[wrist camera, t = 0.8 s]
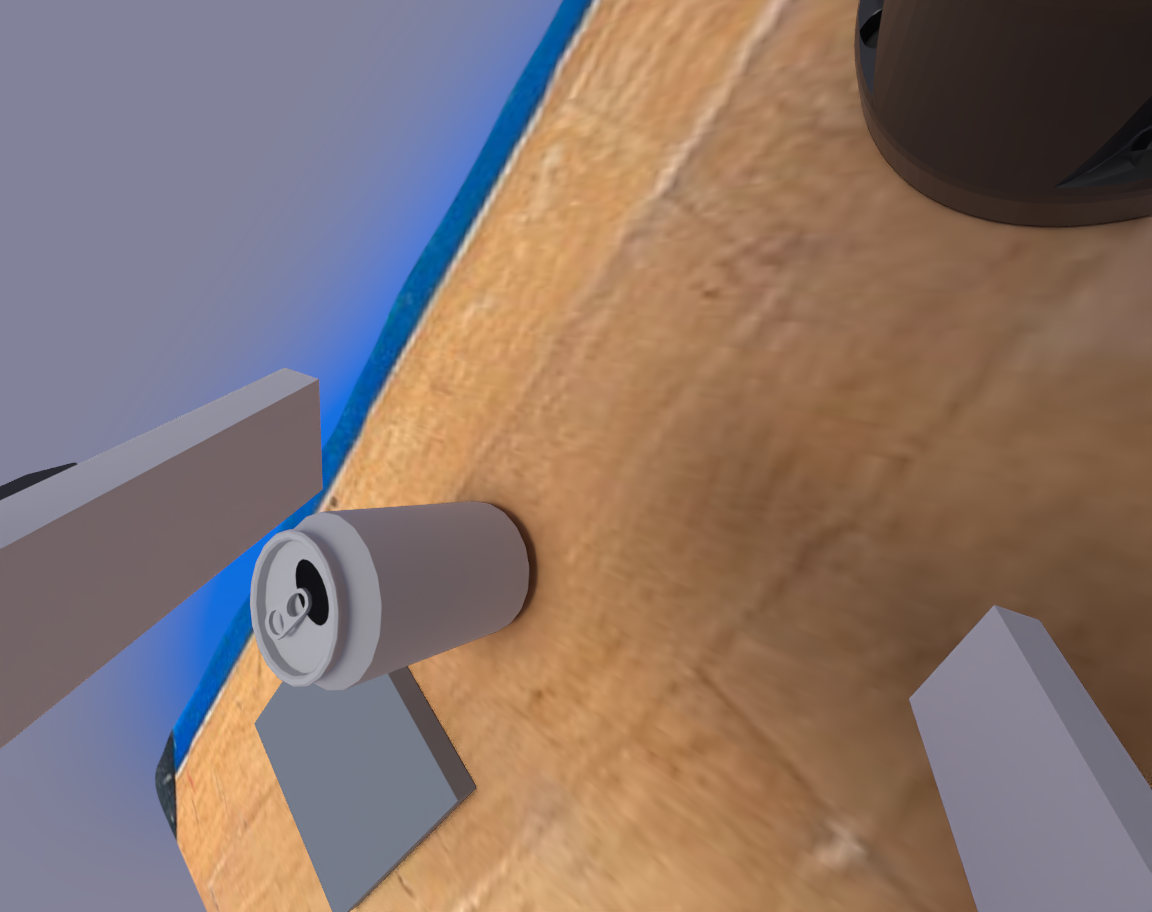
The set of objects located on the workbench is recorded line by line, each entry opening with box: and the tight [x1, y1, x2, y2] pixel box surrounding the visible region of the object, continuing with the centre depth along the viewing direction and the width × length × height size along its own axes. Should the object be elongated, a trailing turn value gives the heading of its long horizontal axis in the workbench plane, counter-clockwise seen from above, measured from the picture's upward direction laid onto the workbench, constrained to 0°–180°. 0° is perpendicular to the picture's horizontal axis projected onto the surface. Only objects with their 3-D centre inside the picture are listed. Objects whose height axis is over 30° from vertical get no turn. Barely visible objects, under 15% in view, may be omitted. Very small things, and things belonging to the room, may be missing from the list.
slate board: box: [254, 666, 476, 912], centre depth 37 cm, size 16×15×2 cm
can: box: [250, 501, 529, 690], centre depth 27 cm, size 8×8×12 cm
